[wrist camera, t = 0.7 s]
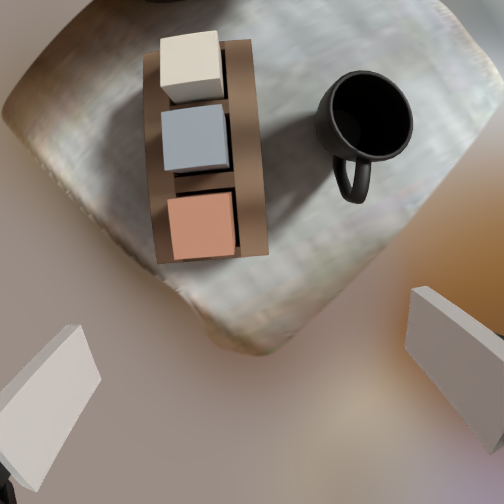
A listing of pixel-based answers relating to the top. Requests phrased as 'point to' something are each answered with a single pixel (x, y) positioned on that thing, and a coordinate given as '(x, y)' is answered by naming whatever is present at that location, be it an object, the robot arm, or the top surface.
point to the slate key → (195, 139)
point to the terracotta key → (202, 225)
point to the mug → (362, 127)
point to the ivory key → (192, 68)
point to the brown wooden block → (234, 179)
